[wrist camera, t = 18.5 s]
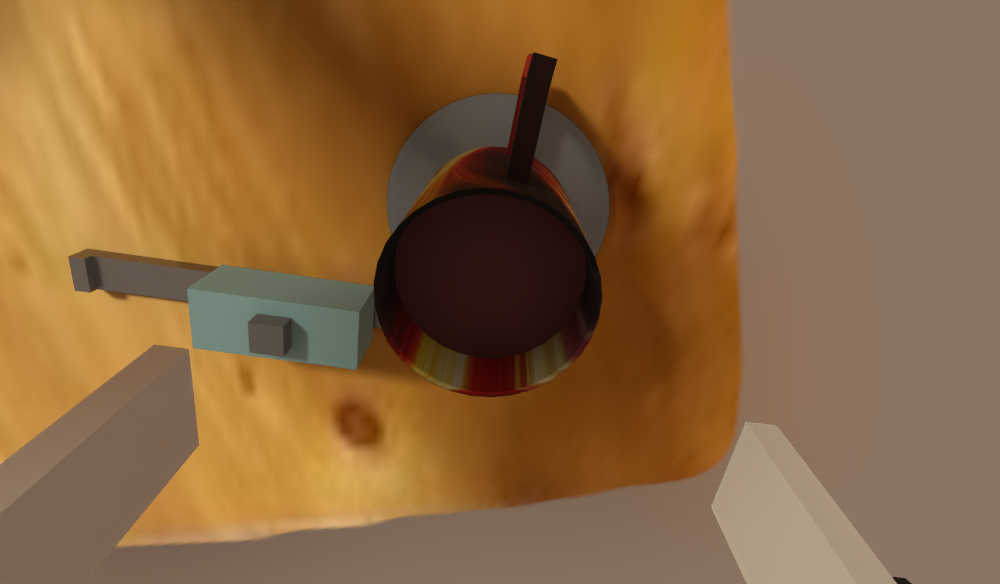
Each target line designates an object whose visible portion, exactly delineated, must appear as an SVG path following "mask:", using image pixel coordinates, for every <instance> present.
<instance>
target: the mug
mask: <svg viewBox="0 0 1000 584" xmlns="http://www.w3.org/2000/svg"><path fill="white" fill-rule="evenodd" d="M556 63H557V59H555V58H551V57H548V56H545V55H541V54H538V53H533V54H529V55H528V56H527V59H526V63H525V67H524V70H523V74H522V79H521V84H520V89H519V93H518V98H517V103H516V108H515V113H514V118H513V123H512V128H511V133H510V138H509V143H508V147H494V146H490V147H483V148H476V149H473V150H470V151H467V152H464V153H462V154H460V155H458V156H456V157H455V158H453V159H451V160H450V161H448V162H447V163H446V164H445V165H444V166H443V167H442V168H441V169H440V170H438V171H437V172H436V174H435V175H434V177H433V178H432V179H431V181H430V182H429V184H428V185H427V186H426V188H425V189H424V191H423V192H422V193H421V195H420V196H419V198H418V199H417V200H416V202H415V203H414V204H413V206H412V207H411V209H410V210H409V211H408V213H407V214H406V216H405V217H404V218H403V220H402V221H401V223H400V224H399V225H398V227H397V228H396V230H395V231H394V232H393V234H392V235H391V237H390V238H389V239H388V241H387V242H386V244H385V246H384V249H383V251H382V253H381V256H380V258H379V260H378V263H377V268H376V273H375V279H374V305H375V309H376V313H377V317H378V321H379V324H380V327H381V329H382V331H383V333H384V335H385V337H386V339H387V341H388V343H389V344H390V345H391V347H392V348H393V349H394V351H395V352H396V353H397V355H398V356H399V357H400V359H401V360H402V361H404V362H405V363H406V364H407V365H408V366H409V367H410V368H411V369H412V370H413V371H414V372H416V373H417V374H419V375H420V376H422V377H423V378H425V379H427V380H428V381H430V382H431V383H433V384H435V385H438V386H440V387H443V388H445V389H448V390H450V391H453V392H457V393H462V394H466V395H470V396H483V397H498V396H507V395H514V394H518V393H521V392H525V391H529V390H532V389H534V388H536V387H539V386H541V385H543V384H545V383H547V382H549V381H551V380H552V379H554V378H555V377H557V376H558V375H559V374H561V373H562V372H564V371H565V370H566V369H568V367H569V366H570V365H571V364H572V363H573V362H574V361H575V360H576V359H577V358H578V357H579V356H580V355H581V354H582V352H583V350H584V349H585V347H586V346H587V344H588V343H589V341H590V339H591V338H592V335H593V333H594V330H595V328H596V325H597V322H598V320H599V315H600V308H601V302H602V290H601V277H600V273H599V270H598V266H597V263H596V259H595V256H594V254H593V252H592V250H591V248H590V246H589V243H588V241H587V239H586V237H585V235H584V233H583V231H582V228H581V226H580V224H579V222H578V220H577V218H576V216H575V213H574V211H573V209H572V207H571V205H570V203H569V201H568V198H567V196H566V194H565V192H564V190H563V188H562V187H561V185H560V183H559V181H558V179H557V178H556V177H555V176H554V175H553V173H552V172H551V171H550V170H549V169H548V168H547V167H546V166H545V165H544V164H542V163H541V162H540V161H538V160H537V159H536V158H534V155H535V151H536V146H537V142H538V137H539V133H540V128H541V124H542V119H543V115H544V110H545V106H546V102H547V97H548V93H549V88H550V84H551V80H552V77H553V73H554V70H555V66H556Z"/></svg>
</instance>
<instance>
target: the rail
mask: <svg viewBox="0 0 1000 584" xmlns="http://www.w3.org/2000/svg"><path fill="white" fill-rule="evenodd" d="M69 263H70V268H71V273H72V278H73V283H74V288H75V291H82V292H92V291H94V290H96V289H100V290H107V291H115V292H122V293H129V294H137V295H144V296H151V297H159V298H166V299H173V300H181V301H188V293H187V288H188V287H190V286H191V285H193V284H194V283H196V282H197V281H199V280H200V279H202V278H203V277H205V276H206V275H208V274H209V273H211V272H212V271H214V270H215V269H217V268H218V267H214V266H207V265H200V264H192V263H185V262H178V261H171V260H164V259H157V258H149V257H142V256H135V255H128V254H121V253H114V252H106V251H99V250H92V249H85V250H83V251H81V252H78V253H76V254H73V255H71V256H69ZM373 327H379V328H381V327H380V324H379V321H378V317H377V313H376V309H375V305H374V321H373Z"/></svg>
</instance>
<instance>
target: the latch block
mask: <svg viewBox="0 0 1000 584" xmlns="http://www.w3.org/2000/svg"><path fill="white" fill-rule="evenodd" d="M187 293H188V303H189V313H190V323H191V333H192V343H193V348H196V349H204V350H211V351H219V352H226V353H234V354H241V355H249V356H256V357H264V358H272V359H279V360H287V361H294V362H302V363H309V364H317V365H324V366H332V367H339V368H347V369H354V370H357V368H358V366H359V365H360V363H361V361H362V359H363V357H364V355H365V353H366V351H367V349H368V347H369V345H370V343H371V341H372V339H373V321H374V286H370V285H363V284H356V283H349V282H342V281H335V280H328V279H320V278H313V277H306V276H299V275H292V274H285V273H277V272H270V271H263V270H256V269H249V268H242V267H235V266H227V265H221V266H220V267H218V268H217V269H215V270H214V271H212V272H211V273H209V274H208V275H206V276H205V277H203V278H202V279H200V280H199V281H197V282H196V283H194V284H193V285H191V286H190V287H188V288H187Z"/></svg>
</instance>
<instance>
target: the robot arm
mask: <svg viewBox="0 0 1000 584" xmlns="http://www.w3.org/2000/svg"><path fill="white" fill-rule="evenodd" d="M198 446H199V440H198V431H197V421H196V412H195V403H194V394H193V384H192V375H191V366H190V357H189V349H184V348H176V347H169V346H161V345H153V346H152V347H151V348H149V349H148V350H147V351H146V352H144V353H143V354H142V355H140V356H139V357H138V358H137V359H135V360H134V361H133V362H131V363H130V364H129V365H128V366H126V367H125V368H124V369H122V370H121V371H120V372H119V373H117V374H116V375H115V376H113V377H112V378H111V379H110V380H108V381H107V382H106V383H104V384H103V385H102V386H101V387H99V388H98V389H97V390H95V391H94V392H93V393H92V394H90V395H89V396H88V397H86V398H85V399H84V400H83V401H81V402H80V403H79V404H77V405H76V406H75V407H74V408H72V409H71V410H70V411H68V412H67V413H66V414H65V415H63V416H62V417H61V418H59V419H58V420H57V421H56V422H54V423H53V424H52V425H50V426H49V427H48V428H46V429H45V430H44V431H43V432H41V433H40V434H39V435H37V436H36V437H35V438H34V439H32V440H31V441H30V442H28V443H27V444H26V445H25V446H23V447H22V448H21V449H19V450H18V451H17V452H16V453H14V454H13V455H12V456H10V457H9V458H8V459H7V460H5V461H4V462H3V463H1V464H0V584H85V583H86V582H87V580H88V579H89V578H90V576H91V575H92V574H93V573H94V572H95V571H96V569H97V568H98V567H99V566H100V564H101V563H102V562H103V561H104V560H105V558H106V557H107V556H108V555H109V554H110V552H111V551H112V550H113V549H114V548H115V546H116V545H117V544H118V543H119V541H120V540H121V539H122V538H123V537H124V535H125V534H126V533H127V532H128V531H129V529H130V528H131V527H132V526H133V524H134V523H135V522H136V521H137V520H138V518H139V517H140V516H141V515H142V514H143V512H144V511H145V510H146V509H147V507H148V506H149V505H150V504H151V503H152V501H153V500H154V499H155V498H156V497H157V495H158V494H159V493H160V492H161V490H162V489H163V488H164V487H165V486H166V484H167V483H168V482H169V481H170V480H171V478H172V477H173V476H174V475H175V473H176V472H177V471H178V470H179V469H180V467H181V466H182V465H183V464H184V463H185V461H186V460H187V459H188V458H189V456H190V455H191V454H192V453H193V452H194V450H195V449H196V448H197V447H198ZM711 508H712V511H713V513H714V515H715V517H716V519H717V521H718V523H719V526H720V527H721V530H722V532H723V534H724V536H725V538H726V541H727V543H728V545H729V547H730V549H731V551H732V553H733V556H734V558H735V560H736V562H737V564H738V566H739V568H740V571H741V572H742V575H743V577H744V579H745V581H746V583H747V584H911V583H910V582H909V581H908V580H907V579H905V578H897V577H892V576H891V575H890V574H889V573H888V571H887V570H886V569H885V567H884V566H883V565H882V563H881V562H880V561H879V559H878V558H877V557H876V555H875V554H874V553H873V551H872V550H871V549H870V548H869V546H868V545H867V543H866V542H865V541H864V540H863V538H862V537H861V536H860V534H859V533H858V532H857V530H856V529H855V528H854V526H853V525H852V524H851V523H850V521H849V520H848V519H847V517H846V516H845V515H844V513H843V512H842V511H841V509H840V508H839V507H838V505H837V504H836V503H835V501H834V500H833V499H832V498H831V496H830V495H829V493H828V492H827V491H826V490H825V488H824V487H823V486H822V485H821V483H820V482H819V480H818V479H817V478H816V476H815V475H814V474H813V473H812V471H811V470H810V468H809V467H808V466H807V465H806V463H805V462H804V461H803V459H802V458H801V457H800V455H799V454H798V453H797V451H796V450H795V449H794V447H793V446H792V445H791V443H790V442H789V441H788V440H787V438H786V437H785V436H784V434H783V433H782V432H781V430H780V429H779V428H778V426H777V425H769V424H761V423H754V422H747V421H746V422H745V425H744V428H743V430H742V432H741V435H740V437H739V440H738V442H737V445H736V447H735V450H734V452H733V454H732V457H731V459H730V462H729V464H728V467H727V469H726V471H725V474H724V476H723V479H722V481H721V484H720V486H719V489H718V491H717V493H716V496H715V498H714V501H713V503H712V506H711Z"/></svg>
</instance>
